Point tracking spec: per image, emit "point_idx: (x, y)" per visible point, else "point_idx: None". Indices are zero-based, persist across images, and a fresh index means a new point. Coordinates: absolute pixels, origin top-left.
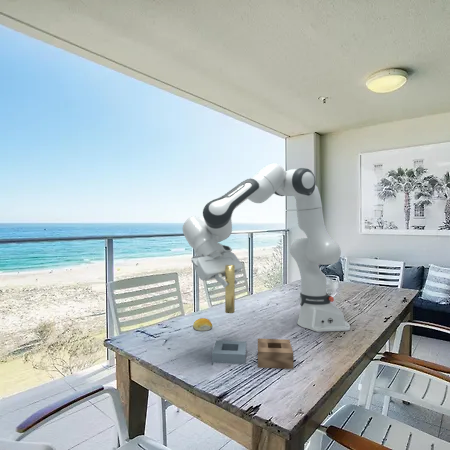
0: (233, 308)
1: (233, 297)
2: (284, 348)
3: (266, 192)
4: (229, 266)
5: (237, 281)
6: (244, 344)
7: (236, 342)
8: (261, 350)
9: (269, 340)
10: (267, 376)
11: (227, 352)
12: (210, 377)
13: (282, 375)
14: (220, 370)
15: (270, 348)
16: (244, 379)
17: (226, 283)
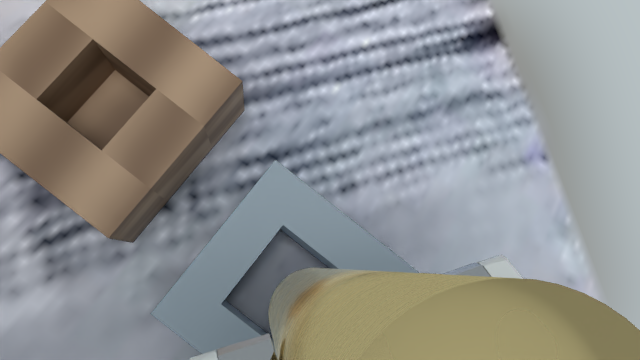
0: (304, 269)
1: (317, 270)
2: (81, 27)
3: None
4: (619, 323)
5: (196, 358)
6: (192, 278)
7: (216, 333)
8: (215, 82)
9: (67, 168)
10: (243, 45)
11: (344, 238)
12: (464, 177)
13: (179, 14)
14: (394, 208)
15: (151, 73)
16: (346, 81)
17: (505, 264)
